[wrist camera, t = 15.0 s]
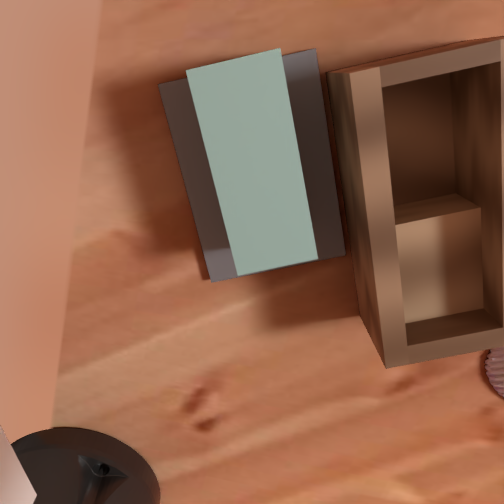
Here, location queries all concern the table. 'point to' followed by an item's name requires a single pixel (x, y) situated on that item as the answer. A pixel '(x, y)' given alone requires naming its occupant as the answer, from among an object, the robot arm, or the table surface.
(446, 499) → the table surface
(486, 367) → the seashell
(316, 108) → the mat
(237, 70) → the part
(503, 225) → the frame
